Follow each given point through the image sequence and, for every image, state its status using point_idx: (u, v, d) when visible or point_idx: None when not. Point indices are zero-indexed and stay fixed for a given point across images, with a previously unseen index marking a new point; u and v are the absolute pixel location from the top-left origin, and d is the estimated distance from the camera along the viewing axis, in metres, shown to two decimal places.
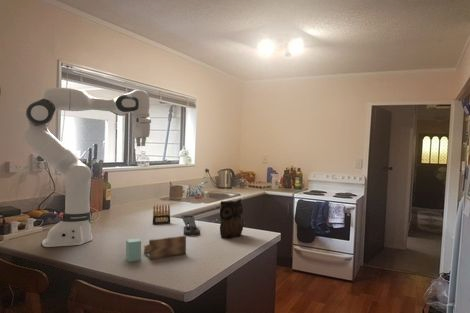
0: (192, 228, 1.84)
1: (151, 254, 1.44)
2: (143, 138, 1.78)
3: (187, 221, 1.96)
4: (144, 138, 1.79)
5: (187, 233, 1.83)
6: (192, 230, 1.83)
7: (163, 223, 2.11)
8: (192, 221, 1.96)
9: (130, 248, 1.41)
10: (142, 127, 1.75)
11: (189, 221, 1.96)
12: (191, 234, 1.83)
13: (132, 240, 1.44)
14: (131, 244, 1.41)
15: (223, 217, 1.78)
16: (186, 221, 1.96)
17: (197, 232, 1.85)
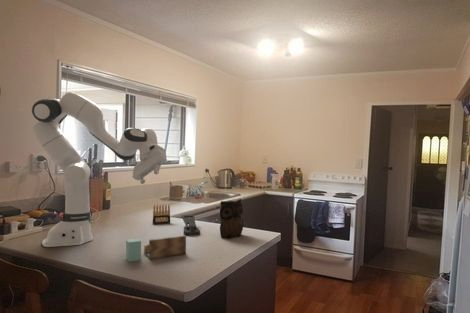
0: (192, 228, 1.84)
1: (151, 254, 1.44)
2: (158, 164, 1.60)
3: (187, 221, 1.96)
4: (159, 165, 1.60)
5: (187, 233, 1.83)
6: (192, 230, 1.84)
7: (163, 223, 2.11)
8: (192, 221, 1.97)
9: (130, 248, 1.41)
10: (160, 151, 1.61)
11: (189, 221, 1.96)
12: (191, 234, 1.83)
13: (132, 240, 1.44)
14: (131, 244, 1.41)
15: (223, 217, 1.78)
16: (186, 221, 1.96)
17: (197, 232, 1.85)
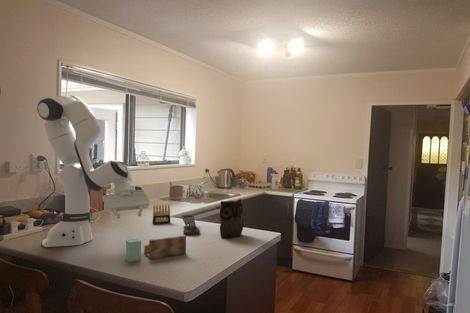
0: (192, 228, 1.84)
1: (151, 254, 1.44)
2: None
3: (187, 221, 1.97)
4: None
5: (187, 233, 1.84)
6: (192, 230, 1.84)
7: (163, 223, 2.11)
8: (192, 221, 1.97)
9: (130, 248, 1.41)
10: (147, 196, 1.64)
11: (189, 221, 1.97)
12: (191, 234, 1.84)
13: (132, 240, 1.44)
14: (131, 244, 1.41)
15: (223, 217, 1.78)
16: (186, 221, 1.96)
17: (197, 232, 1.85)
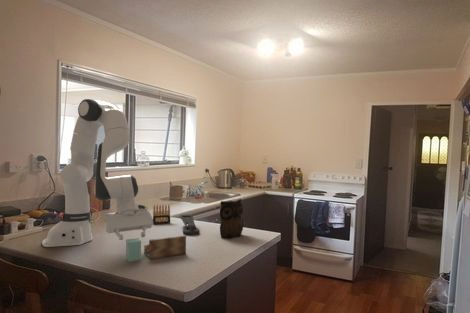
0: (192, 228, 1.85)
1: (151, 254, 1.44)
2: None
3: (186, 221, 1.97)
4: None
5: (187, 233, 1.84)
6: (192, 230, 1.84)
7: (163, 223, 2.11)
8: (191, 221, 1.97)
9: (130, 248, 1.41)
10: None
11: (188, 221, 1.97)
12: (191, 234, 1.84)
13: (132, 240, 1.44)
14: (131, 244, 1.41)
15: (223, 217, 1.78)
16: (185, 221, 1.97)
17: (197, 231, 1.86)
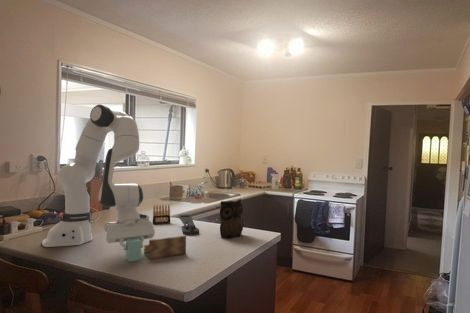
0: (192, 227, 1.85)
1: (151, 254, 1.44)
2: None
3: (185, 221, 1.97)
4: None
5: (187, 232, 1.84)
6: (192, 229, 1.85)
7: (163, 223, 2.11)
8: (190, 220, 1.98)
9: (130, 248, 1.41)
10: None
11: (187, 221, 1.97)
12: (191, 233, 1.85)
13: (132, 240, 1.44)
14: (131, 244, 1.41)
15: (223, 217, 1.78)
16: (184, 221, 1.97)
17: (196, 231, 1.86)
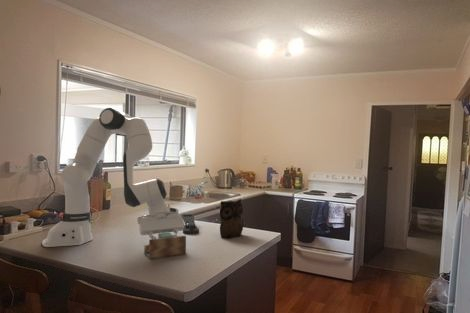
0: (191, 227, 1.87)
1: (151, 254, 1.44)
2: None
3: (187, 220, 1.99)
4: None
5: (186, 231, 1.86)
6: (191, 229, 1.87)
7: None
8: (191, 220, 2.00)
9: None
10: None
11: (188, 220, 2.00)
12: (190, 232, 1.86)
13: (164, 234, 1.51)
14: None
15: (223, 217, 1.78)
16: (186, 220, 1.99)
17: (196, 231, 1.88)
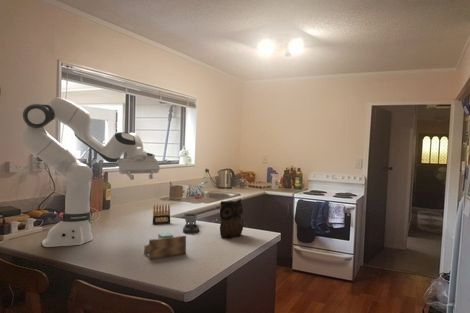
0: (191, 226, 1.88)
1: (151, 254, 1.44)
2: None
3: (188, 219, 2.01)
4: None
5: (186, 231, 1.88)
6: (191, 228, 1.88)
7: (163, 223, 2.11)
8: (193, 219, 2.01)
9: None
10: None
11: (190, 219, 2.01)
12: (190, 232, 1.88)
13: (164, 234, 1.51)
14: None
15: (223, 217, 1.78)
16: (187, 219, 2.01)
17: (196, 230, 1.89)
